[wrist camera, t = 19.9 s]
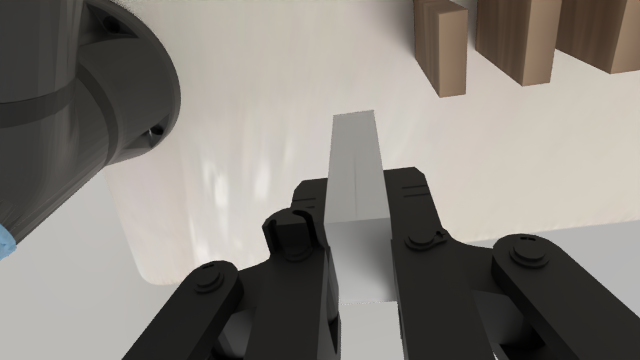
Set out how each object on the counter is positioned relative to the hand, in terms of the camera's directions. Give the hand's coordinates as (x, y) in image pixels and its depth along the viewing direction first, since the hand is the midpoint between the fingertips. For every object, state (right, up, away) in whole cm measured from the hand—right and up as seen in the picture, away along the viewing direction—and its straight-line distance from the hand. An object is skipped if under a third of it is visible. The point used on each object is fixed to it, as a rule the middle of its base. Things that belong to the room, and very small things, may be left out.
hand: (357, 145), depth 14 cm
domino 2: (+12, +12, +16) cm, 23 cm away
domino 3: (+17, +12, +15) cm, 26 cm away
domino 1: (+7, +11, +17) cm, 21 cm away
